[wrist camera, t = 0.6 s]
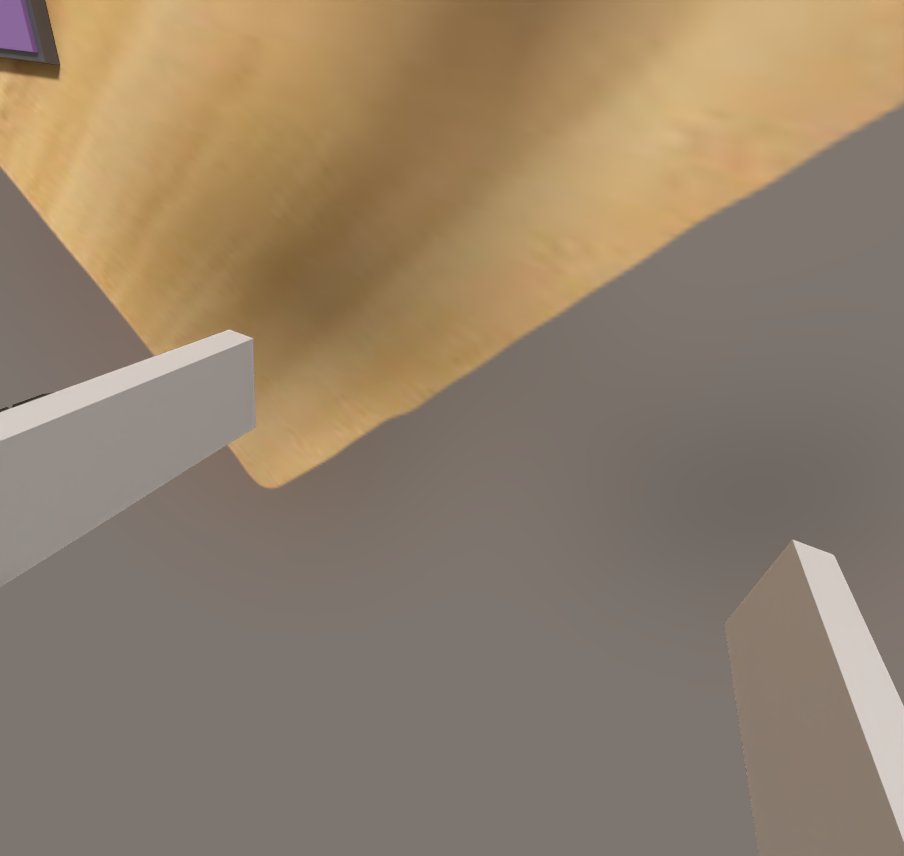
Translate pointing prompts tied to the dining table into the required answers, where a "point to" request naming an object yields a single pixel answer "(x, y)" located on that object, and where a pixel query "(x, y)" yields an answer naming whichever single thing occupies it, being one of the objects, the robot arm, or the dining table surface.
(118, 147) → the dining table surface
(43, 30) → the ink pad
